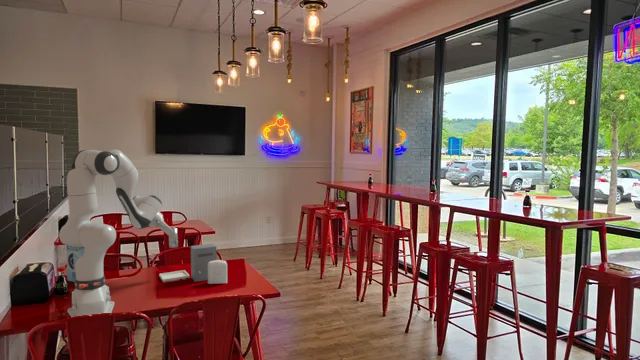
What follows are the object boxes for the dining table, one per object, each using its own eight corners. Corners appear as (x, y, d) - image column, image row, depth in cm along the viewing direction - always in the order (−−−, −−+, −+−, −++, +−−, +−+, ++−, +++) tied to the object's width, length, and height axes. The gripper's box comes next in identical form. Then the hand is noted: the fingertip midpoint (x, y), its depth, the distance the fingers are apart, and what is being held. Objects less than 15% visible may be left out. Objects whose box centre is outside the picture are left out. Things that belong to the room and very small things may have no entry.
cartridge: (178, 247, 239) (178, 227, 238) (170, 248, 237) (169, 228, 236) (177, 245, 243) (176, 226, 242) (168, 246, 241) (167, 227, 240)
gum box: (67, 281, 236) (65, 239, 234) (75, 278, 240) (73, 237, 238) (92, 285, 228) (90, 242, 226) (100, 282, 232) (98, 240, 231)
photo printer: (227, 281, 234) (227, 258, 233) (227, 283, 230) (226, 261, 229) (208, 282, 232) (207, 259, 231) (207, 284, 228) (206, 261, 227)
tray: (189, 278, 239) (189, 275, 239) (163, 282, 232) (163, 279, 232) (184, 272, 250) (184, 270, 250) (159, 276, 243) (159, 273, 243)
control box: (217, 278, 239) (216, 246, 237) (195, 282, 233) (194, 249, 231) (212, 274, 246) (212, 243, 245) (191, 277, 240) (190, 245, 239)
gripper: (162, 217, 226) (182, 234, 231) (156, 212, 243) (174, 227, 249) (153, 227, 224) (174, 243, 230) (147, 220, 242) (166, 236, 247)
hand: (174, 235), depth 239 cm, fingers closed on cartridge, 5 cm apart
